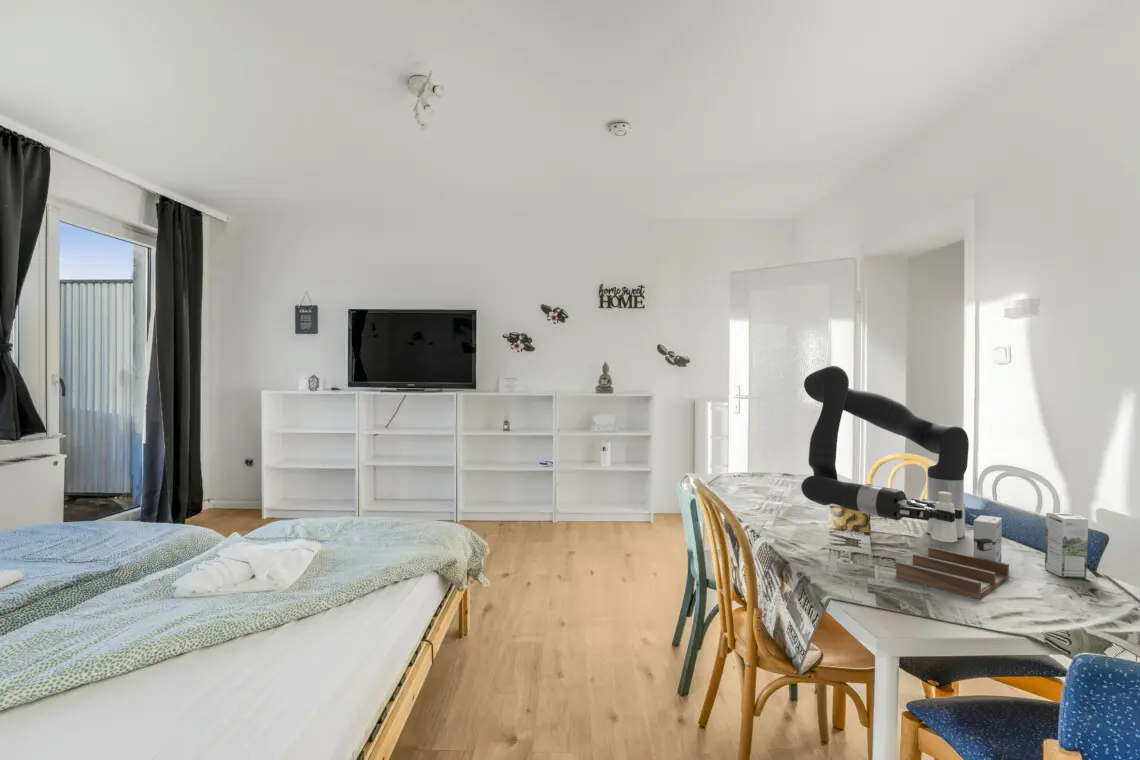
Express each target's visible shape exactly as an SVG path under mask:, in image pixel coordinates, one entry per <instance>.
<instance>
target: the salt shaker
mask: <svg viewBox="0 0 1140 760" xmlns="http://www.w3.org/2000/svg"><path fill="white" fill-rule="evenodd" d="M951 497H952V493H950V492H943V491H941V492H938V502H936V503H935V508H934V509H936V510H937V509H938V510H943V511H949V512H954V513H955V509H954V504H952V503H951V500H952V499H951ZM929 535H930V538H932V540H935V541H938V542H941V543H955V542H958V538H957V530H956V519H955V521H954V522H948V521H943V520H937V519H936V518H935V520H933V522H932V528H931V534H929Z"/></svg>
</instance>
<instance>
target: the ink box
mask: <svg viewBox="0 0 1140 760" xmlns="http://www.w3.org/2000/svg"><path fill="white" fill-rule="evenodd" d="M1002 519H1003V518H1002V517H1000V516H999V517H998V516H991V515H982V514H980V515H979V516H977V517H976V518H975V519H974V520H973V556H974V557H979V558H983V559H988V560H992V561H997V562H1001V563H1002V539H1003V538H1002V537H1003V536H1002V535H1003V534H1002V531H1003V530H1002V529H1003V528H1002V525H1003V524H1002V521H1003V520H1002Z"/></svg>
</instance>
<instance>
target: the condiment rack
mask: <svg viewBox="0 0 1140 760" xmlns="http://www.w3.org/2000/svg"><path fill="white" fill-rule="evenodd" d="M927 552H928V555H927V556H926V555H921V554H917V553H913V554H912V564H910V563H905V562H901V561H896V564H895V577H896V578H898V577H899V579H901V580H905V579H906V580H905V581H910V582H912V583H913V582H914V583H916V582H917V584H919V585H920V584H921V585H924V586H928V587H932V588H935V589H940V590H942V589H944V590H943V591H946V590H947V591H946V592H950V591H951V593H954V592H955V593H954V594H957V593H958V595H961V594H962V596H965V595H966V596H965V597H968V596H970V597H969V598H972V597H973V599H976V598H977V599H976V600H980V599H981V598H983V597H984V596H986V595H987V594H989V593H991V592H992V591H993V590H995V589H996V588H997V587H999V586H1000V585H1001V584H1003V583H1005V582H1006V581H1008V580H1009V579H1010V576H1009V575H1010V563H1007V562H1006V563H1005V562H1002V561H1001V562H997V561H992V560H988V559H983V558H979V557H974V555H969V554H965V553H964V554H963V553H960V552H955V551H950V550H946V549H941V548H937V547H933V546H929V547H928V551H927ZM1007 579H1008V580H1007ZM979 598H980V599H979Z"/></svg>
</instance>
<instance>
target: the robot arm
mask: <svg viewBox="0 0 1140 760" xmlns="http://www.w3.org/2000/svg"><path fill="white" fill-rule="evenodd" d="M849 383H850V380H849V376H848V374H847V372H846V370H844V369H843V368H842V367H840V366H838V365H829V366H826V367H824V368H821V369H818V370H815V371H813V372H812V373H810V374H809V375H807V376H806V378H805V379H804V381H803V387H804V390H805V392H806V394H807V395H808V396H809V397H810V398H811V399H813V400H814V401H816V402H819V403H822V407H821V410H820V413H819V417H818V419H817V421H816V424H815V426H814V428H813V431H812V433H811V437H810V442H809V450H808V464H809V466H810V468H811V470H812V471H813V475H809V476H807V477H806V478H805V479H804V480H803V481H802V482H801V486H800V489H801V492H802V494H803V496H804V497H805V498H806V499H808V500H809V501H811V502H814V503H817V504H819V505H821V506H829V505H836V506H838V507H840V508H843V509H847V510H851V511H856V512H860V513H864V514H867V515H870V516H875V517H880V518H885V519H889V520H893V521H900V520H902V519H903V518H905V519H906V518H907V519H915V520H921V521H922V520H923V521H926V531H927V532H926V533H928V534H929V535H931V528H932V522H933V520H935V518H936V519H937V520H943V521H948V522H954V521H955V519H956V530H957V539H960V538H963V537H964V536H965V535H966V504H965V503H964V501H965V500H964V499H965V498H964V497H965V494H964V493H965V491H964V490H965V487H964V486H965V484H964V483H965V474H966V471H967V468H968V461H969V450H970V449H969V446H970V445H969V443H970V442H969V436H968V433H967V432H966V430H965V429H964V428H962V427H960V426H957V425H953V424H952V425H951V424H944V423H943V424H942V423H937V422H933V421H930V420H926V419H924V418H921V417H919V416H917V415H915V414H914V413H913V412H912V411H911V409H909V407H907V406H906V405H905V404H903V403H901V402H900V401H898V400H896V399H894V398H891V397H889V396H887V395H885V394H883V393H877V392H872V391H867V390H860V389H855V388H854V389H853V388H850V387H849V386H850V385H849ZM843 412H847V413H848V414H850V415H853V416H855V417H857V418H860V419H862V420H864V421H867V422H868V423H870V424H872V425H874V426H876V427H878V428H880V429H882V430H885V431H888V432H890V433H893V434H895V435H898V436H901V437H904V438H906V439H908V440H910V441H912V442H914V443H915V444H917V446H920V447H922V448H923V449H924V450H926V451H928V452H930V453H933V454H937V455H938V459H937V463H936V464H934V465H930V466H929V467H927V491H926V492H927V493H926V494H927V495H926V496H927V497H926V498H927V499H926V498H921V499H920V498H913V497H912V498H911V499H908V498H907V495H906V493H905V492H904V491H903V489H902V490H901V489H897V488H896V489H895V488H890V487H886V486H879V485H870V484H869V485H867V484H861V483H855V482H846V481H841V480H838V472H837V467H836V461H837V460H836V459H837V451H838V450H837V447H838V438H839V437H838V436H839V429H840V424H841V420H842V416H843ZM941 491H943V492H950V493H952V497H951V499H952V500H951V503H952V504H954V509H955V513H954V512H949V511H943V510H938V509H937V510H936V509H934V508H935V503H936V502H938V492H941Z"/></svg>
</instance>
